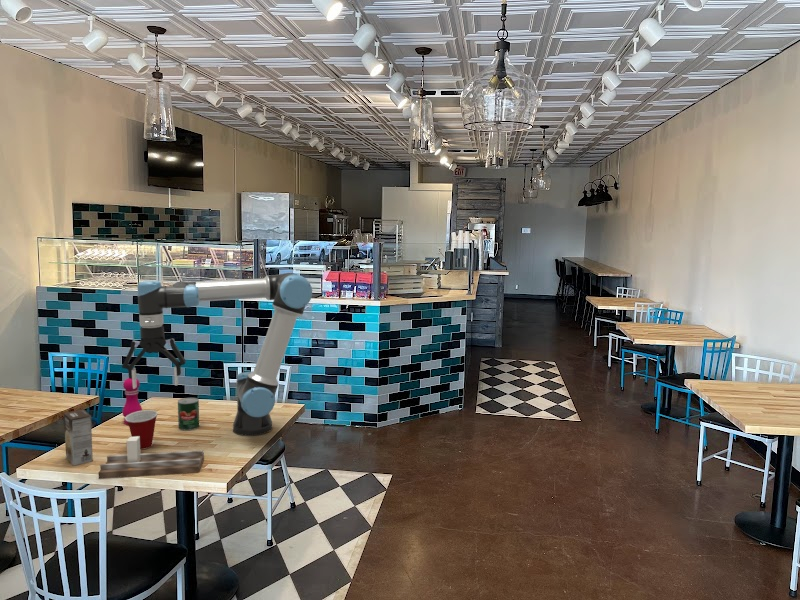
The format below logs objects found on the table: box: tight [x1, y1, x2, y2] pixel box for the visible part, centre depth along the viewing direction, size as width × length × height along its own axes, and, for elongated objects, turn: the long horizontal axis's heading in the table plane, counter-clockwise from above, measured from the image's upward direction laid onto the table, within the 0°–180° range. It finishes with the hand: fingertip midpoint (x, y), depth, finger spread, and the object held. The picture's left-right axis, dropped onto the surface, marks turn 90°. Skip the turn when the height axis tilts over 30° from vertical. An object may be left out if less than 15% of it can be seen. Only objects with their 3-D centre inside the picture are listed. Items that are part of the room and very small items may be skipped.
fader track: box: [98, 450, 205, 480], centre depth 188 cm, size 30×12×4 cm, turn 101°
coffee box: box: [63, 408, 94, 466], centre depth 193 cm, size 9×6×16 cm
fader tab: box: [126, 436, 141, 463], centre depth 187 cm, size 3×4×8 cm
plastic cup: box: [124, 409, 158, 450], centre depth 206 cm, size 11×11×12 cm
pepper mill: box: [122, 377, 143, 426], centre depth 231 cm, size 7×7×20 cm
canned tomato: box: [177, 397, 200, 432], centre depth 227 cm, size 8×8×11 cm
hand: (156, 386), depth 199 cm, fingers open, 13 cm apart
